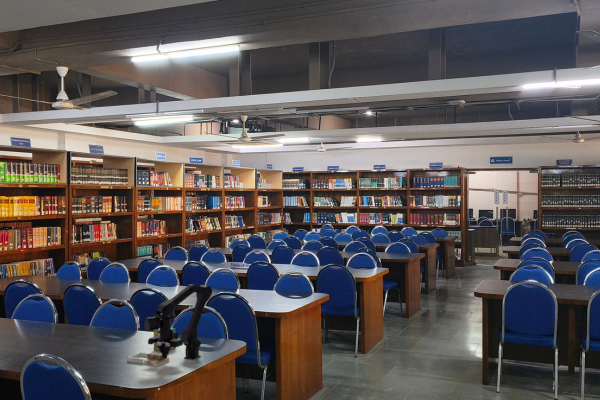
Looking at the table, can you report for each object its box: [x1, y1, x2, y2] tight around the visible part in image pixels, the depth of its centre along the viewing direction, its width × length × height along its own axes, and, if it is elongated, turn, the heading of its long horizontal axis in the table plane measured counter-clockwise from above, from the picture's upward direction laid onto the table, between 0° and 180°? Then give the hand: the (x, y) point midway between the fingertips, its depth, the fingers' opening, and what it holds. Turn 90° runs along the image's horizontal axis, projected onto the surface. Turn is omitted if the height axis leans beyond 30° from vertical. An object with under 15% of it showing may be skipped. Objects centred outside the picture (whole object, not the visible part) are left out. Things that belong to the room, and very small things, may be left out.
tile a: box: [154, 352, 164, 361], centre depth 271 cm, size 4×4×2 cm
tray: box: [126, 351, 149, 365], centre depth 277 cm, size 10×10×2 cm
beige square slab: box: [143, 356, 170, 367], centre depth 272 cm, size 9×9×2 cm
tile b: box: [147, 351, 159, 360], centre depth 273 cm, size 4×4×2 cm
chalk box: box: [152, 327, 177, 351], centre depth 299 cm, size 9×9×15 cm
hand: (165, 358), depth 270 cm, fingers closed
